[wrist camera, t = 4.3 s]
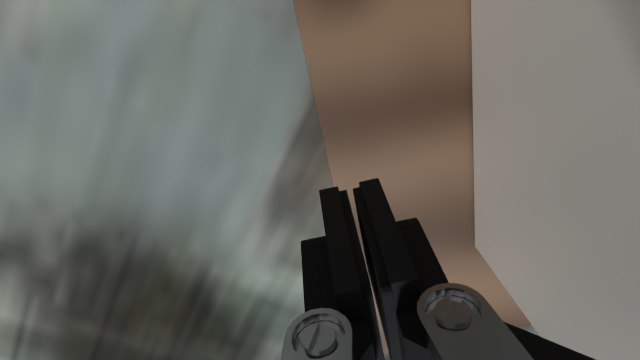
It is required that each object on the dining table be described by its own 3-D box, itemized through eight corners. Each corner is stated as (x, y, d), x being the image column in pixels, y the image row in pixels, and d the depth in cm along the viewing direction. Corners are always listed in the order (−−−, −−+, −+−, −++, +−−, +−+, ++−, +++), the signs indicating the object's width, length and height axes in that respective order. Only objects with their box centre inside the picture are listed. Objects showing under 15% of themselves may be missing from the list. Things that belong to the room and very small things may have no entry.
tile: (507, -87, 13) (1569, -221, 2) (500, 240, 19) (780, 580, 9) (469, -78, 13) (1371, -176, 2) (474, 246, 19) (726, 594, 9)
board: (226, -304, 11) (219, -336, 10) (1162, -545, 10) (1288, -615, 9) (366, 333, 24) (370, 356, 23) (786, 249, 23) (815, 267, 22)
